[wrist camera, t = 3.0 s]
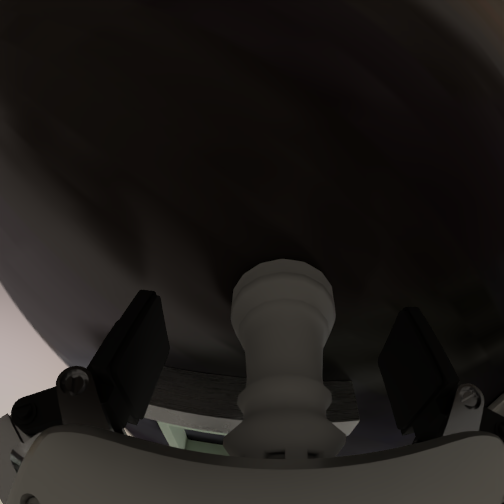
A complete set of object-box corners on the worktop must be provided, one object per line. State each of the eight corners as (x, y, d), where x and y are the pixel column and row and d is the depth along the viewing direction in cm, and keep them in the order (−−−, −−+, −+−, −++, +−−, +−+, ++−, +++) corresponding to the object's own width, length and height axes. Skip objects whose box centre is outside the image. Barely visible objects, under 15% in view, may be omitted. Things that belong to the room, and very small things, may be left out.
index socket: (284, 410, 16) (284, 434, 14) (271, 451, 20) (270, 469, 18) (162, 395, 17) (155, 417, 15) (181, 440, 20) (176, 457, 19)
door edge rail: (351, 380, 14) (359, 420, 12) (342, 397, 15) (348, 435, 12) (128, 358, 15) (110, 393, 12) (135, 377, 16) (120, 410, 13)
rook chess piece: (343, 315, 12) (381, 475, 5) (259, 344, 13) (246, 496, 6) (311, 236, 11) (360, 429, 3) (214, 276, 12) (154, 452, 5)
